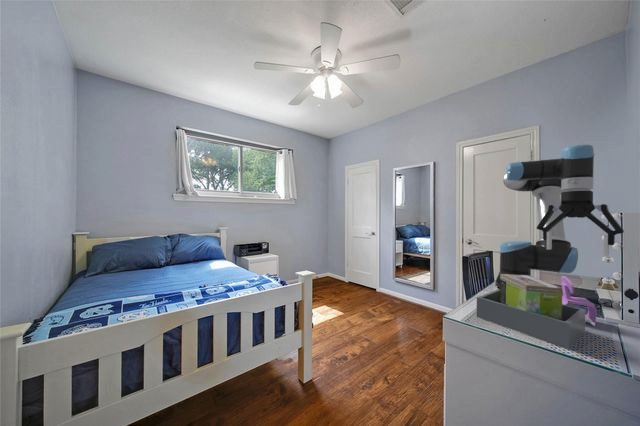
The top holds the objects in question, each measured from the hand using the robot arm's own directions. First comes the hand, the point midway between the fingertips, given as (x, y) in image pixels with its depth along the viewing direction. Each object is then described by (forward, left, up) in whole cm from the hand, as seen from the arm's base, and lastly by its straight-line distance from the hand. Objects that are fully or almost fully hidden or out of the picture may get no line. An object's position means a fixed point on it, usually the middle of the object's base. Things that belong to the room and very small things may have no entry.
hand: (575, 252), depth 81 cm
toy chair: (0, 0, -24) cm, 24 cm away
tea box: (+18, -8, -24) cm, 31 cm away
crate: (+18, -8, -24) cm, 31 cm away
